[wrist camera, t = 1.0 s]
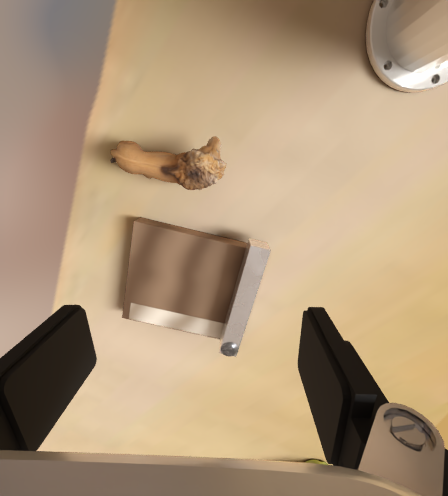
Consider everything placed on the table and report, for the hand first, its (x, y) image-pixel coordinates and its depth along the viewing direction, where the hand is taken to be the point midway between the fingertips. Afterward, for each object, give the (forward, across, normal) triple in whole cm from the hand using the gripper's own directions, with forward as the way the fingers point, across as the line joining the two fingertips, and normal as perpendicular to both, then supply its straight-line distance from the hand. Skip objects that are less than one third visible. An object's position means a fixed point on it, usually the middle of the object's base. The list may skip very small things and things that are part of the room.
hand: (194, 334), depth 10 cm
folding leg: (+21, -3, +10) cm, 24 cm away
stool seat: (+24, +4, +10) cm, 26 cm away
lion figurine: (+24, +6, -7) cm, 26 cm away
